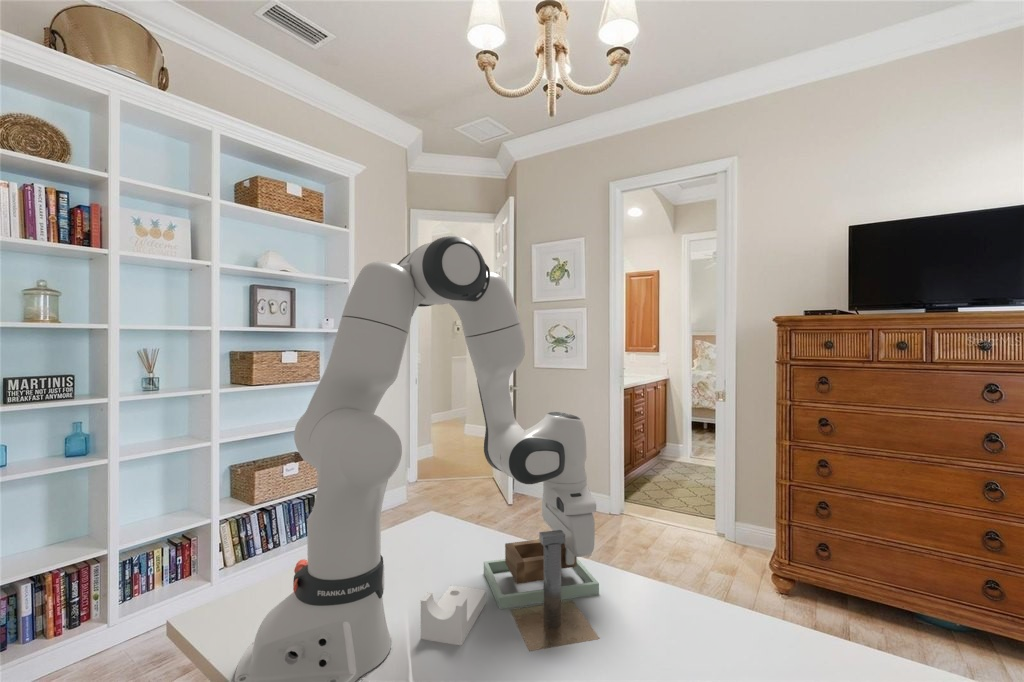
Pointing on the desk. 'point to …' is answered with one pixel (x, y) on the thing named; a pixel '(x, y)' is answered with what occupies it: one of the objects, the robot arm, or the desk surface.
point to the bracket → (451, 614)
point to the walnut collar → (529, 560)
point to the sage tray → (537, 595)
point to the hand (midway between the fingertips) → (565, 558)
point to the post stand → (552, 606)
